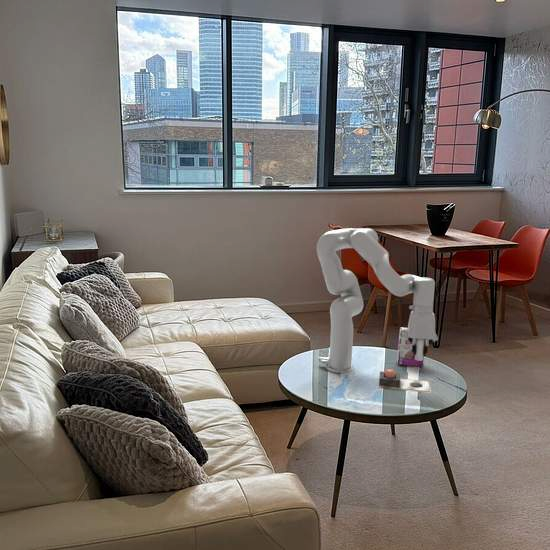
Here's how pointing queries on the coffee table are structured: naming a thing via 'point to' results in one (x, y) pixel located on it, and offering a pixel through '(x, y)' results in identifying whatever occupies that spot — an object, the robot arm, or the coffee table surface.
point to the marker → (419, 349)
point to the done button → (390, 373)
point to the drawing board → (403, 383)
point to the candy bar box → (406, 351)
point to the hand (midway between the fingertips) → (419, 354)
